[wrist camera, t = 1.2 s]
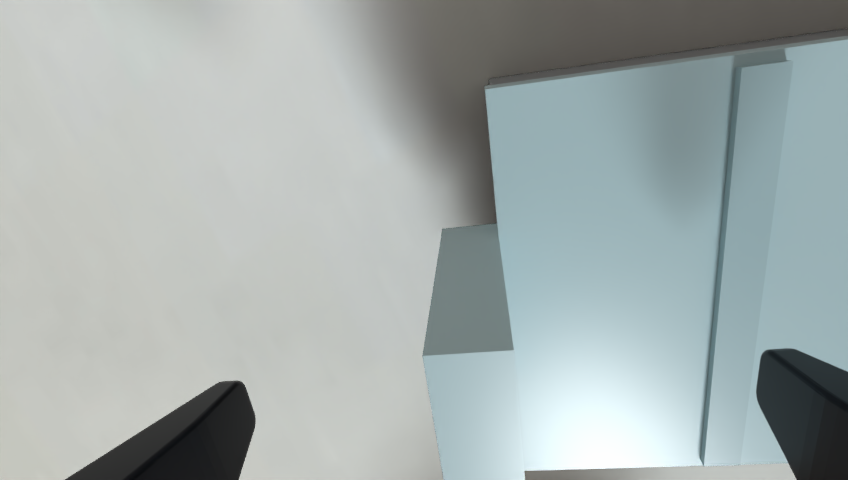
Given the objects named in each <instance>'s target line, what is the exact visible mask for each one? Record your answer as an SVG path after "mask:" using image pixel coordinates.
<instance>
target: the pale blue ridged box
mask: <svg viewBox="0 0 848 480" xmlns="http://www.w3.org/2000/svg"><path fill="white" fill-rule="evenodd" d="M484 88H485V99H486V109H487V120H488V131H489V142H490V153H491V164H492V175H493V186H494V197H495V208H496V219H497V223H496V224H486V225H476V226H466V227H456V228H446V229H442V235H441V242H440V248H439V254H438V261H437V267H436V274H435V280H434V286H433V293H432V299H431V306H430V312H429V318H428V325H427V331H426V337H425V344H424V350H423V361H424V367H425V373H426V379H427V385H428V391H429V397H430V403H431V408H432V414H433V420H434V426H435V432H436V438H437V444H438V450H439V456H440V461H441V467H442V473H443V479H444V480H525V473H524V471H538V470H572V469H606V468H640V467H674V466H729V465H742V464H775V463H788V462H787V460H786V458H785V456H784V454H783V452H782V450H781V448H780V446H779V444H778V442H777V440H776V438H775V436H774V434H773V432H772V430H771V428H770V426H769V424H768V422H767V420H766V418H765V416H764V414H763V413H762V411H761V409H760V406H759V404H758V401H757V397H756V386H757V379H758V371H759V364H760V358H761V355H762V353H763V352H764V351H766V350H768V349H783V348H792V349H796V350H799V351H801V352H803V353H806V354H808V355H810V356H813V357H815V358H817V359H820V360H822V361H824V362H827V363H829V364H831V365H833V366H836V367H838V368H840V369H843V370H845V371H847V372H848V36H842V37H834V38H827V39H820V40H813V41H806V42H798V43H791V44H784V45H777V46H770V47H762V48H755V49H748V50H741V51H733V52H726V53H719V54H712V55H705V56H697V57H690V58H683V59H676V60H669V61H661V62H654V63H647V64H640V65H633V66H625V67H618V68H611V69H604V70H596V71H589V72H582V73H575V74H568V75H560V76H553V77H546V78H539V79H532V80H524V81H517V82H510V83H503V84H496V85H488V86H484Z"/></svg>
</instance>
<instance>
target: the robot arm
mask: <svg viewBox="0 0 848 480" xmlns="http://www.w3.org/2000/svg"><path fill="white" fill-rule="evenodd" d="M756 397H757V401H758V404H759V406H760V409H761V411H762V413H763V414H764V416H765V418H766V420H767V422H768V424H769V426H770V428H771V430H772V432H773V434H774V436H775V438H776V440H777V442H778V444H779V446H780V448H781V450H782V452H783V454H784V456H785V458H786V460H787V462H788V463H789V465H790V467H791V469H792V471H793V473H794V475H795V477H796V479H797V480H848V372H847V371H845V370H843V369H840V368H838V367H836V366H833V365H831V364H829V363H827V362H824V361H822V360H820V359H817V358H815V357H813V356H810V355H808V354H806V353H803V352H801V351H799V350H796V349H792V348H783V349H768V350H766V351H764V352H763V353H762V355H761V358H760V364H759V371H758V379H757V386H756ZM254 428H255V413H254V410H253V407H252V405H251V402H250V399H249V396H248V393H247V390H246V387H245V385H244V384H243V383H242V382H241V381H223V382H219V383H217V384H215V385H214V386H212V387H210V388H209V389H207V390H206V391H204V392H203V393H201V394H199V395H198V396H196V397H195V398H193V399H192V400H190V401H188V402H187V403H185V404H184V405H182V406H180V407H179V408H177V409H176V410H174V411H173V412H171V413H169V414H168V415H166V416H165V417H163V418H162V419H160V420H158V421H157V422H155V423H154V424H152V425H150V426H149V427H147V428H146V429H144V430H143V431H141V432H139V433H138V434H136V435H135V436H133V437H132V438H130V439H128V440H127V441H125V442H124V443H122V444H120V445H119V446H117V447H116V448H114V449H113V450H111V451H109V452H108V453H106V454H105V455H103V456H102V457H100V458H98V459H97V460H95V461H94V462H92V463H90V464H89V465H87V466H86V467H84V468H83V469H81V470H79V471H78V472H76V473H75V474H73V475H72V476H70V477H68V478H67V479H65V480H239V477H240V474H241V470H242V467H243V464H244V461H245V458H246V454H247V451H248V448H249V445H250V442H251V438H252V435H253V432H254Z"/></svg>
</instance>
